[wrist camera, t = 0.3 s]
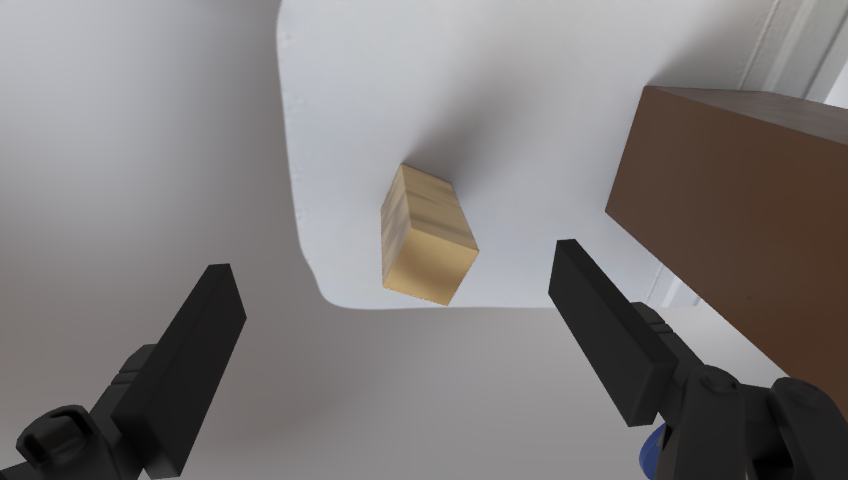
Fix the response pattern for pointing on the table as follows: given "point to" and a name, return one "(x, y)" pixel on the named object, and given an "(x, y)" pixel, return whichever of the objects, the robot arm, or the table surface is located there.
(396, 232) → the block
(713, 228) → the pedestal with orange tray
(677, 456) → the robot arm
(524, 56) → the table surface
